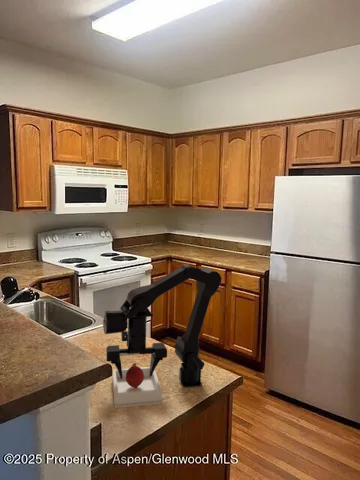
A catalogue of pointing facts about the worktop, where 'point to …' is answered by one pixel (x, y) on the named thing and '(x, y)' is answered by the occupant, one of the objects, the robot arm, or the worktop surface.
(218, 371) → the worktop surface
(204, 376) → the worktop surface
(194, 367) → the robot arm
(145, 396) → the bin
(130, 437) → the worktop surface
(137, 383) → the onion
